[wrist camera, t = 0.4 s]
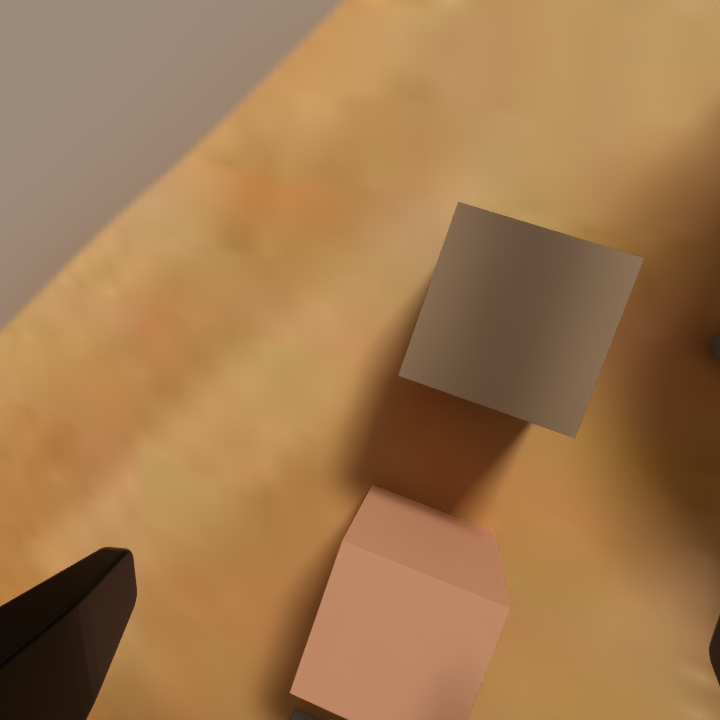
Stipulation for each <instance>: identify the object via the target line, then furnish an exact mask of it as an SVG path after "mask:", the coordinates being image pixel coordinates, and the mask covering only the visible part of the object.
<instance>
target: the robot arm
mask: <svg viewBox="0 0 720 720" xmlns="http://www.w3.org/2000/svg"><path fill="white" fill-rule="evenodd" d="M136 597H137V586H136V577H135V568H134V559H133V555H132V552H131V551H130V550H128V549H126V548H115V547H104V548H101V549H99V550H97V551H96V552H94V553H92V554H91V555H89V556H87V557H85V558H84V559H82V560H80V561H78V562H77V563H75V564H73V565H71V566H70V567H68V568H66V569H65V570H63V571H61V572H59V573H58V574H56V575H54V576H52V577H51V578H49V579H47V580H45V581H44V582H42V583H40V584H39V585H37V586H35V587H33V588H32V589H30V590H28V591H26V592H25V593H23V594H21V595H19V596H18V597H16V598H14V599H13V600H11V601H9V602H7V603H6V604H4V605H2V606H0V720H86V719H87V717H88V715H89V713H90V711H91V709H92V707H93V705H94V703H95V700H96V698H97V696H98V693H99V691H100V689H101V686H102V684H103V682H104V679H105V677H106V674H107V672H108V669H109V667H110V664H111V662H112V660H113V657H114V655H115V652H116V650H117V647H118V645H119V643H120V640H121V638H122V635H123V633H124V630H125V628H126V625H127V623H128V621H129V618H130V616H131V613H132V611H133V608H134V606H135V602H136ZM709 655H710V660H711V664H712V667H713V669H714V672H715V675H716V677H717V680H718V683H719V685H720V615H719V618H718V621H717V624H716V627H715V630H714V633H713V636H712V639H711V642H710V647H709Z"/></svg>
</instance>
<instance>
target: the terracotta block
mask: <svg viewBox="0 0 720 720" xmlns="http://www.w3.org/2000/svg"><path fill="white" fill-rule="evenodd" d="M510 609H511V608H510V603H509V598H508V593H507V588H506V583H505V578H504V573H503V568H502V563H501V558H500V553H499V548H498V543H497V538H496V533H495V532H494V531H491V530H489V529H486V528H484V527H481V526H479V525H476V524H473V523H471V522H468V521H466V520H463V519H460V518H458V517H455V516H453V515H450V514H447V513H445V512H442V511H440V510H437V509H435V508H432V507H429V506H427V505H424V504H422V503H419V502H416V501H414V500H411V499H409V498H406V497H403V496H401V495H398V494H396V493H393V492H391V491H388V490H385V489H383V488H380V487H378V486H375V485H372V486H371V488H370V490H369V492H368V494H367V496H366V498H365V499H364V501H363V503H362V505H361V507H360V509H359V511H358V512H357V514H356V516H355V518H354V520H353V522H352V523H351V525H350V527H349V529H348V531H347V533H346V535H345V536H344V538H343V540H342V543H341V546H340V549H339V552H338V554H337V557H336V560H335V563H334V566H333V569H332V572H331V575H330V578H329V580H328V583H327V586H326V589H325V592H324V595H323V598H322V601H321V604H320V606H319V609H318V612H317V615H316V618H315V621H314V624H313V627H312V630H311V632H310V635H309V638H308V641H307V644H306V647H305V650H304V653H303V656H302V659H301V661H300V664H299V667H298V670H297V673H296V676H295V679H294V682H293V685H292V687H291V690H290V693H291V694H293V695H295V696H297V697H299V698H302V699H304V700H306V701H308V702H310V703H313V704H315V705H317V706H319V707H321V708H324V709H326V710H328V711H330V712H332V713H335V714H337V715H339V716H341V717H343V718H346V719H348V720H468V718H469V715H470V713H471V710H472V708H473V705H474V702H475V700H476V697H477V695H478V692H479V689H480V687H481V684H482V682H483V679H484V676H485V674H486V671H487V669H488V666H489V664H490V661H491V658H492V656H493V653H494V651H495V648H496V645H497V643H498V640H499V638H500V635H501V632H502V630H503V627H504V625H505V622H506V619H507V617H508V614H509V612H510Z"/></svg>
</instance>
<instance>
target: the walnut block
mask: <svg viewBox="0 0 720 720" xmlns="http://www.w3.org/2000/svg"><path fill="white" fill-rule="evenodd" d="M643 260H644V258H642V257H639V256H636V255H633V254H629V253H626V252H623V251H619V250H616V249H613V248H609V247H606V246H603V245H599V244H596V243H593V242H589V241H586V240H583V239H580V238H576V237H573V236H570V235H566V234H563V233H560V232H556V231H553V230H550V229H546V228H543V227H540V226H536V225H533V224H530V223H527V222H523V221H520V220H517V219H513V218H510V217H507V216H503V215H500V214H497V213H493V212H490V211H487V210H483V209H480V208H477V207H473V206H470V205H467V204H464V203H460V202H458V204H457V207H456V210H455V213H454V216H453V219H452V221H451V224H450V227H449V230H448V233H447V236H446V239H445V242H444V245H443V247H442V250H441V253H440V256H439V259H438V262H437V265H436V268H435V271H434V274H433V276H432V279H431V282H430V285H429V288H428V291H427V294H426V297H425V300H424V302H423V305H422V308H421V311H420V314H419V317H418V320H417V323H416V326H415V329H414V331H413V334H412V337H411V340H410V343H409V346H408V349H407V352H406V355H405V357H404V360H403V363H402V366H401V369H400V372H399V375H398V376H400V377H403V378H406V379H409V380H412V381H415V382H417V383H420V384H423V385H426V386H429V387H432V388H434V389H437V390H440V391H443V392H446V393H448V394H451V395H454V396H457V397H460V398H463V399H465V400H468V401H471V402H474V403H477V404H480V405H482V406H485V407H488V408H491V409H494V410H496V411H499V412H502V413H505V414H508V415H511V416H513V417H516V418H519V419H522V420H525V421H528V422H530V423H533V424H536V425H539V426H542V427H544V428H547V429H550V430H553V431H556V432H559V433H561V434H564V435H567V436H570V437H573V438H575V437H576V434H577V432H578V429H579V427H580V424H581V421H582V419H583V416H584V414H585V411H586V408H587V406H588V403H589V401H590V398H591V395H592V393H593V390H594V388H595V385H596V382H597V380H598V377H599V375H600V372H601V369H602V367H603V364H604V362H605V359H606V356H607V354H608V351H609V349H610V346H611V343H612V341H613V338H614V336H615V333H616V330H617V328H618V325H619V323H620V320H621V317H622V315H623V312H624V310H625V307H626V304H627V302H628V299H629V297H630V294H631V291H632V289H633V286H634V284H635V281H636V278H637V276H638V273H639V271H640V268H641V265H642V263H643Z"/></svg>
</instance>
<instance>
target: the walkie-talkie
mask: <svg viewBox="0 0 720 720" xmlns="http://www.w3.org/2000/svg"><path fill="white" fill-rule="evenodd" d="M709 350H710V353H711V355H712V357H714V358H715V359H716V360H718V361H720V334H717V335H716V336H715V337H714V338H713V339H711V341H710V344H709Z"/></svg>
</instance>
